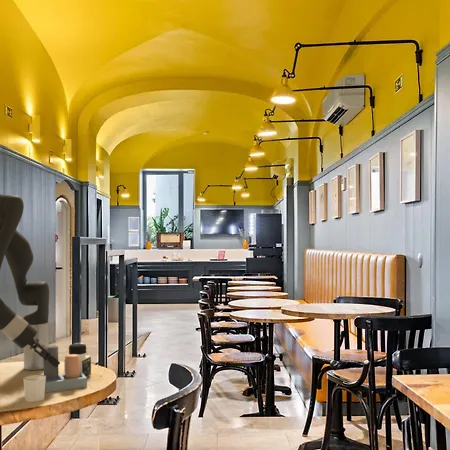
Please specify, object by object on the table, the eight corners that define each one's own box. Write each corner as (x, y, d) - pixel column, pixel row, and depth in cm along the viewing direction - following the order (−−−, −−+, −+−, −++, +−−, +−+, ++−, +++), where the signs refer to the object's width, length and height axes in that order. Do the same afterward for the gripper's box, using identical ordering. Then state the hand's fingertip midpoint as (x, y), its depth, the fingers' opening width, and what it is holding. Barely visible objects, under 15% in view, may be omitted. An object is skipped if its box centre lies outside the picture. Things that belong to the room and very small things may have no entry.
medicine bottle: (82, 380, 204) (82, 346, 204) (64, 379, 206) (63, 345, 206) (91, 374, 211) (90, 342, 211) (73, 374, 212) (72, 341, 213)
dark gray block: (42, 376, 196) (42, 346, 196) (57, 374, 198) (57, 345, 198) (44, 379, 191) (44, 349, 192) (59, 377, 193) (59, 347, 194)
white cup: (50, 396, 184) (50, 375, 184) (37, 403, 178) (37, 380, 178) (32, 395, 187) (32, 373, 186) (18, 401, 180) (18, 378, 180)
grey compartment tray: (37, 385, 197) (37, 356, 197) (82, 380, 203) (81, 352, 203) (40, 392, 189) (40, 362, 189) (87, 386, 195) (86, 357, 195)
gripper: (29, 325, 185) (68, 359, 190) (25, 319, 198) (61, 351, 203) (12, 343, 183) (51, 377, 188) (9, 336, 196) (46, 367, 201)
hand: (56, 363), depth 195 cm, fingers closed on dark gray block, 4 cm apart
